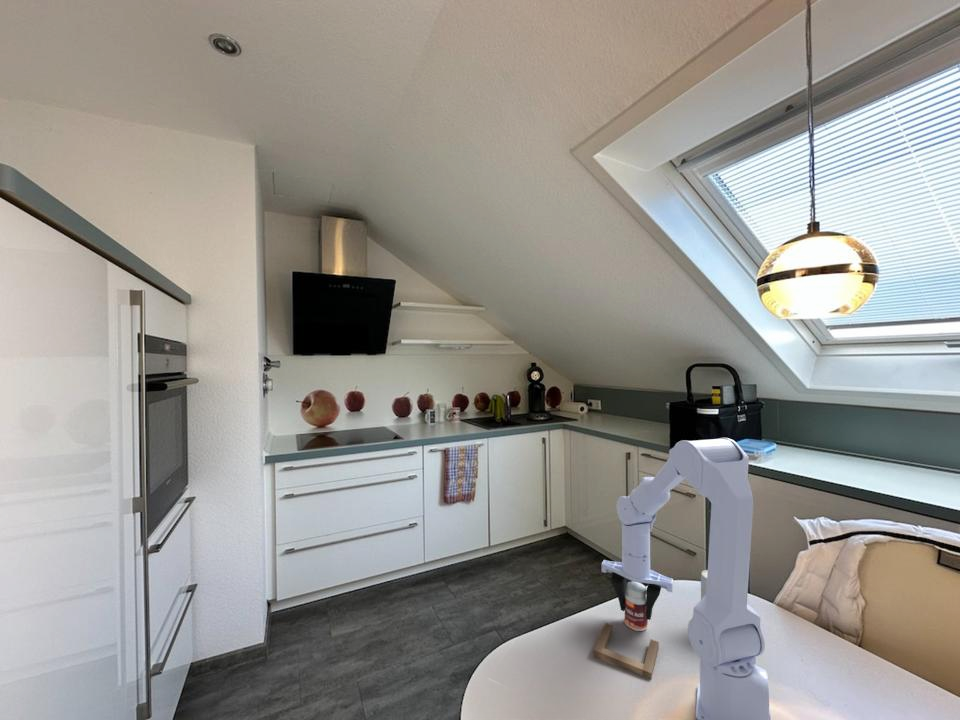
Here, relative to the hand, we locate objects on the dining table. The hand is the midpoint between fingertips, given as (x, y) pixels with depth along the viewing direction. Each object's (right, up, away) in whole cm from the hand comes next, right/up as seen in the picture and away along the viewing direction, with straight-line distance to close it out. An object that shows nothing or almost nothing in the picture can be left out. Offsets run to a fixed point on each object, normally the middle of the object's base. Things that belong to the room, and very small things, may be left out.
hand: (636, 612), depth 84 cm
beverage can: (+16, -3, -2) cm, 16 cm away
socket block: (-5, -3, -8) cm, 9 cm away
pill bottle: (0, -3, 0) cm, 3 cm away
